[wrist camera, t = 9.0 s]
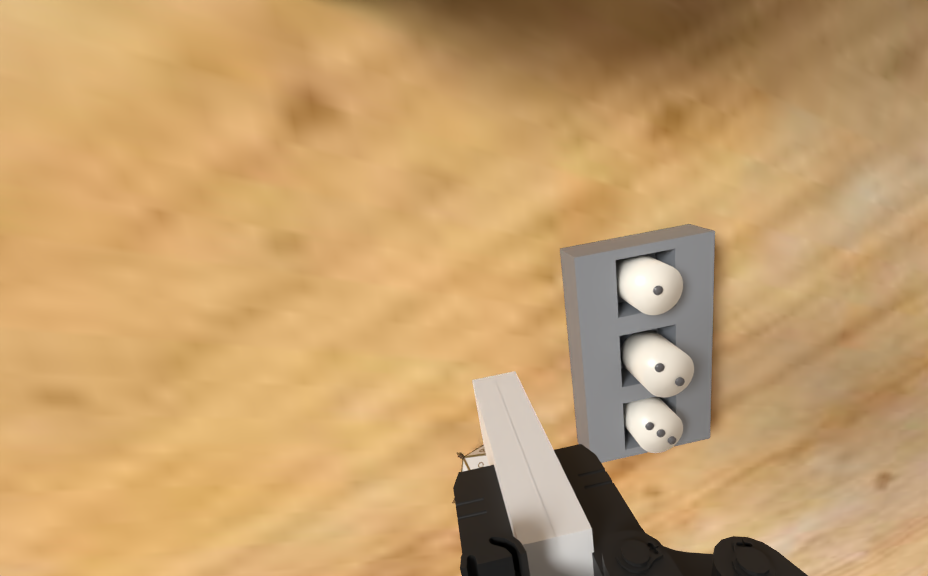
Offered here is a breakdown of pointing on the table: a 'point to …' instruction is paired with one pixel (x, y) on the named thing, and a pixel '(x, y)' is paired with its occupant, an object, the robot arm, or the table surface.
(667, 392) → the button
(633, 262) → the button
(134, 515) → the table surface
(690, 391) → the button board
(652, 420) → the button
